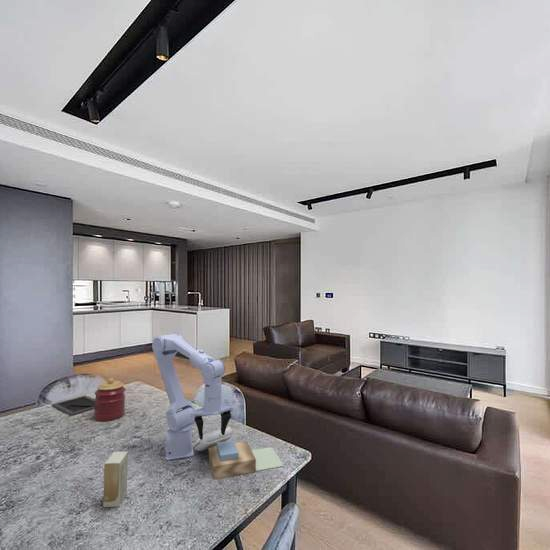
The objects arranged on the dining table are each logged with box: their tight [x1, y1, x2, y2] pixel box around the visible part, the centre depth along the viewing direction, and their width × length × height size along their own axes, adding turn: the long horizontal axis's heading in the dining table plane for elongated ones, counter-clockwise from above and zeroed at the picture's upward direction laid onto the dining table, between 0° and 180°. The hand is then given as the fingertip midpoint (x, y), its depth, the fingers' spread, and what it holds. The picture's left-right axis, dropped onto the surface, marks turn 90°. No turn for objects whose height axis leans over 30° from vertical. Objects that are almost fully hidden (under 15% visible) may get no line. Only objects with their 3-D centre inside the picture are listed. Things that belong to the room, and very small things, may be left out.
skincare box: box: [102, 451, 129, 508], centre depth 90 cm, size 6×4×12 cm
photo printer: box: [194, 426, 233, 452], centre depth 117 cm, size 10×4×12 cm
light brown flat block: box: [208, 440, 257, 480], centre depth 108 cm, size 14×13×4 cm
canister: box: [93, 377, 126, 422], centre depth 148 cm, size 13×13×18 cm
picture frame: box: [51, 395, 95, 417], centre depth 159 cm, size 16×2×21 cm
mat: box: [251, 446, 285, 472], centre depth 112 cm, size 10×13×1 cm
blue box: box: [216, 440, 239, 462], centre depth 108 cm, size 6×9×2 cm, turn 19°
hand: (212, 436), depth 108 cm, fingers open, 7 cm apart
